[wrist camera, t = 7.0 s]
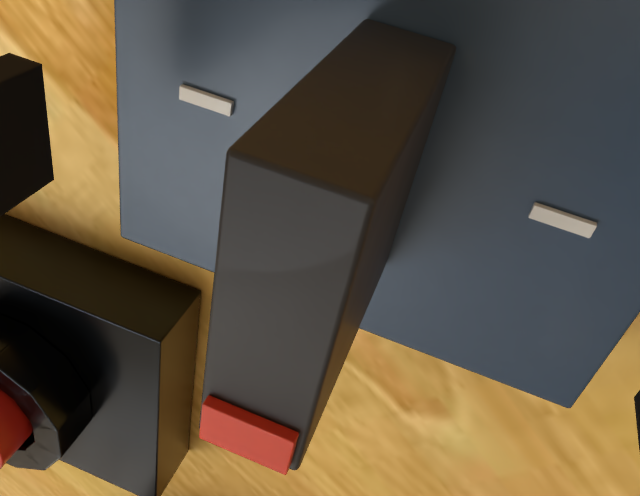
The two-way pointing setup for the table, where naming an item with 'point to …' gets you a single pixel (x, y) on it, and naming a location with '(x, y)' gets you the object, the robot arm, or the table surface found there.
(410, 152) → the dark grey slab
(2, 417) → the button
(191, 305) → the button block
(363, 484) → the table surface
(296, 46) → the dial panel
